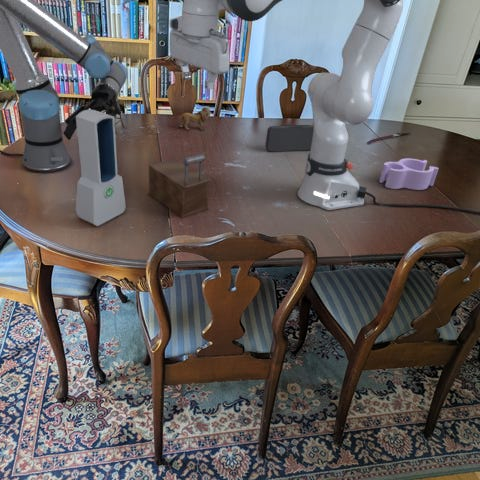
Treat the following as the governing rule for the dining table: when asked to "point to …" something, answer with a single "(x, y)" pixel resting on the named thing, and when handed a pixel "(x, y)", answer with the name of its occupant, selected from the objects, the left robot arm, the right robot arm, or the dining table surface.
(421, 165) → the clip
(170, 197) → the chest
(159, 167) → the lid
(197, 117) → the lion figurine
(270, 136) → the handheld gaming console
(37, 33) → the left robot arm
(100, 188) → the electronic device
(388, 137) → the sword
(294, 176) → the dining table surface
